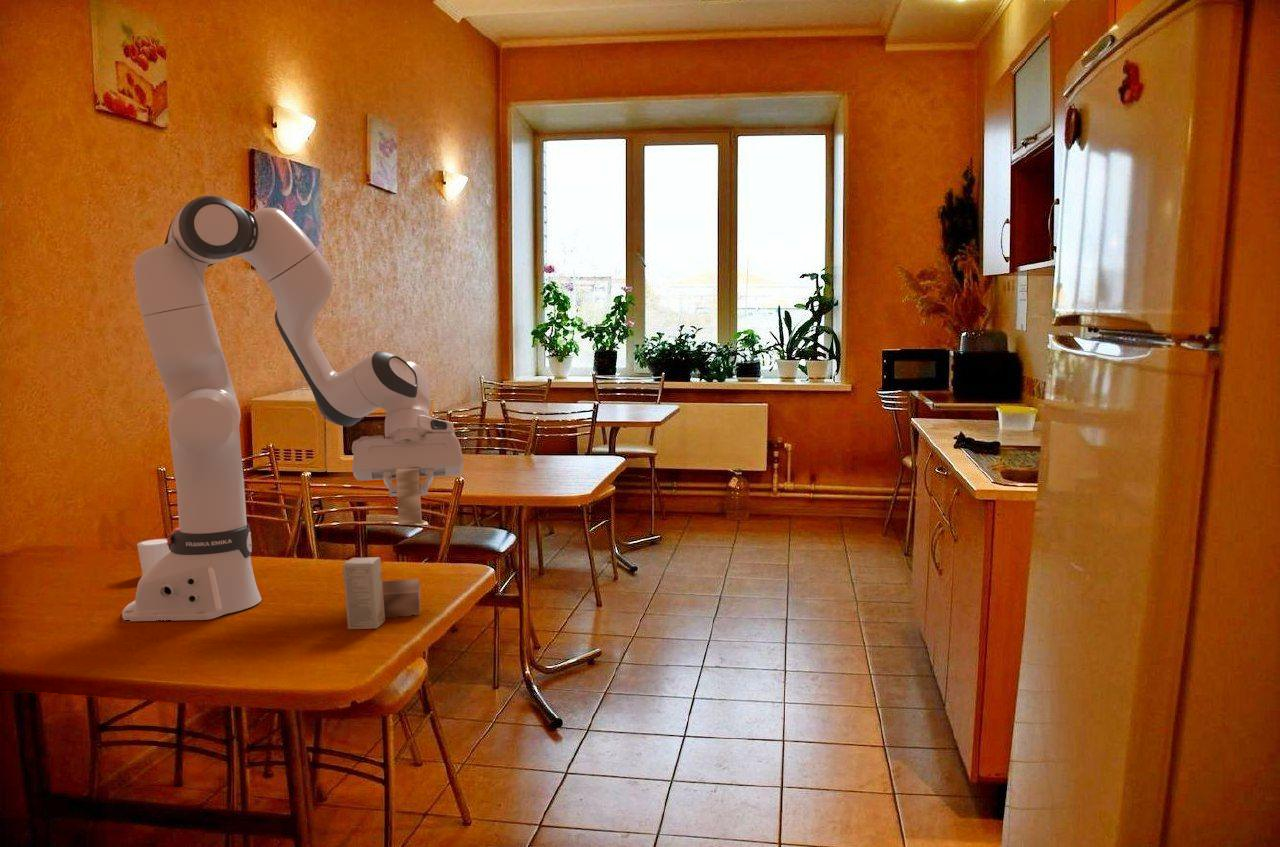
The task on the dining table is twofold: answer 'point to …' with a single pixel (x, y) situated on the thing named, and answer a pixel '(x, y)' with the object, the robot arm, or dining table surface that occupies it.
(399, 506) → the oak post
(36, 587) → the dining table surface
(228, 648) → the dining table surface
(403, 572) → the dining table surface
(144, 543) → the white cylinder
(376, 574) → the box
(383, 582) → the light tan slab
